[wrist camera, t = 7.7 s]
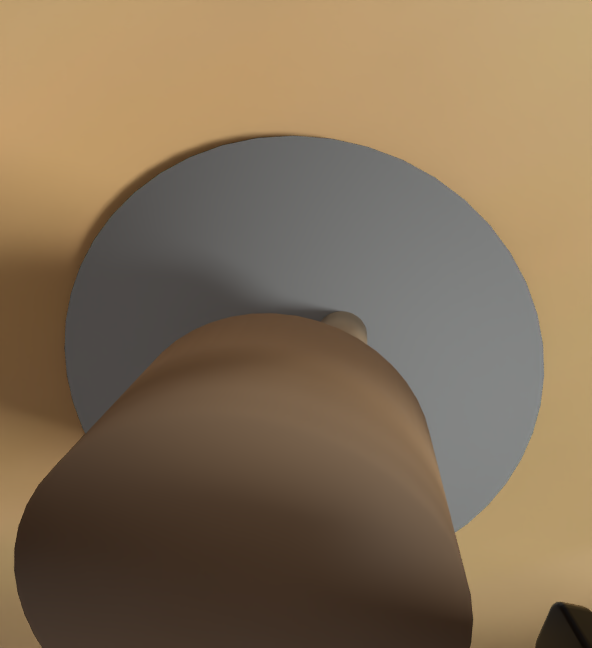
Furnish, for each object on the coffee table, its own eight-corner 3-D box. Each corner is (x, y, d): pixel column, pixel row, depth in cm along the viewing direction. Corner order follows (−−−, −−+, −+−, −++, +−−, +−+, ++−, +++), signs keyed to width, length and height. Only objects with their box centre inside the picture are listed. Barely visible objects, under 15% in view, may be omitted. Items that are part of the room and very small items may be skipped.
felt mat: (465, 599, 15) (468, 611, 14) (76, 520, 15) (68, 529, 15) (613, 181, 11) (622, 182, 10) (68, 98, 11) (58, 97, 11)
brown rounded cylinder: (386, 506, 13) (412, 805, 7) (171, 464, 14) (25, 717, 8) (441, 295, 11) (538, 470, 5) (184, 253, 12) (-1, 370, 6)
